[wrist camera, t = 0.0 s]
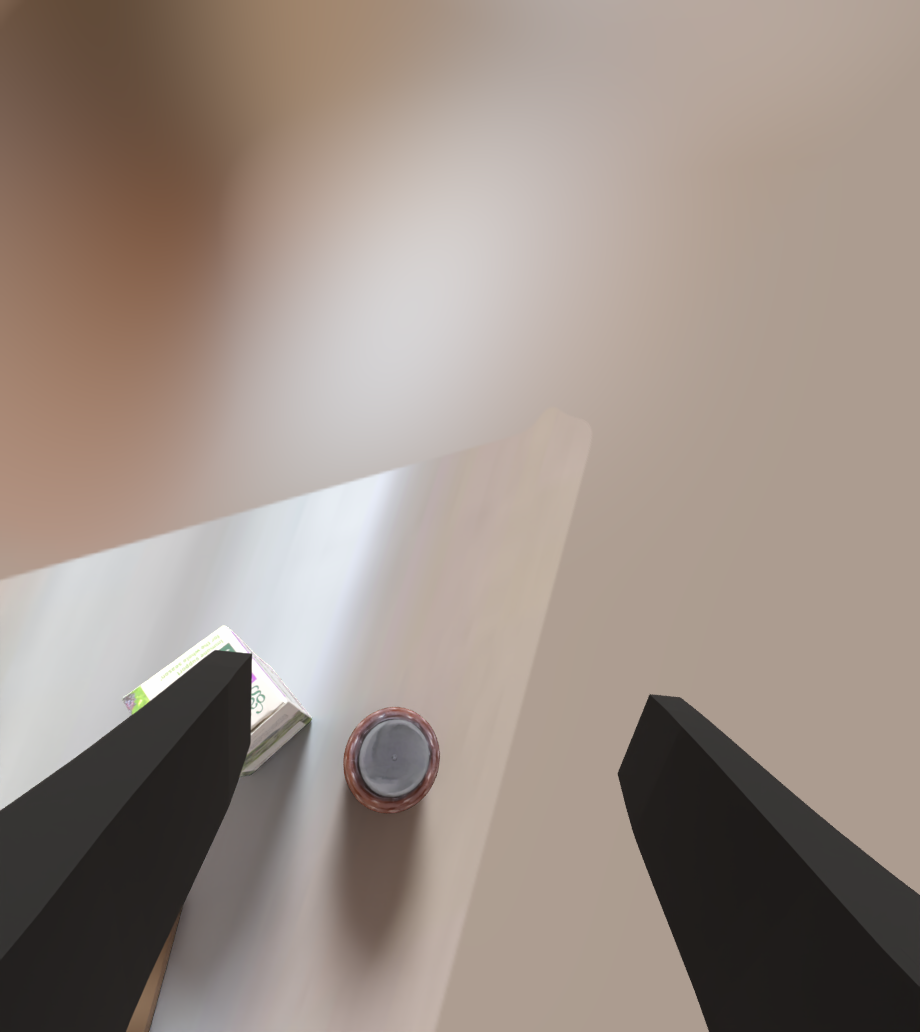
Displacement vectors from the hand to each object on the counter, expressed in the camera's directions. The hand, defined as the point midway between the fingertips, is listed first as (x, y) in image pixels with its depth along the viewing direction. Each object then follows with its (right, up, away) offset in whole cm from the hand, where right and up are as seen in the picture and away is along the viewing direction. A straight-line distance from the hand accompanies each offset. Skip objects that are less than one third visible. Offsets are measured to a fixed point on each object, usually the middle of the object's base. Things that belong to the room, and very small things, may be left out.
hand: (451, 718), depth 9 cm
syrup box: (-15, -12, +28) cm, 34 cm away
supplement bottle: (-5, -15, +28) cm, 32 cm away
